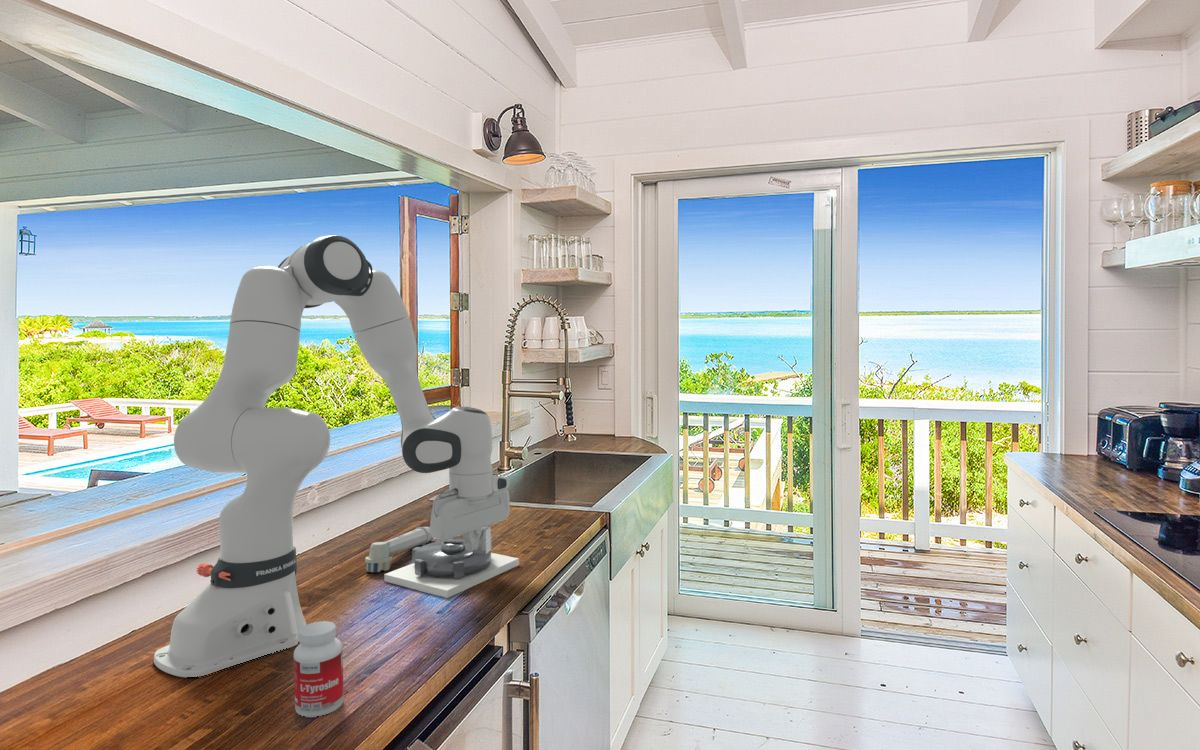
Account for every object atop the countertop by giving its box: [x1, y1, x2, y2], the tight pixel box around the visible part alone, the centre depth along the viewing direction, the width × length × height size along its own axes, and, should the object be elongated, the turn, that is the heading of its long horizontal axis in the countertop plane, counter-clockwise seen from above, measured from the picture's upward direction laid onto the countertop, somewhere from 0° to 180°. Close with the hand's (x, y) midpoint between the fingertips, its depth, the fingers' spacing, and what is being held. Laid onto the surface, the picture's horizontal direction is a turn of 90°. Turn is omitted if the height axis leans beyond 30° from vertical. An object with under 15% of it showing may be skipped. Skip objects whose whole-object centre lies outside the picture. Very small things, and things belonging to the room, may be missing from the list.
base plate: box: [383, 552, 520, 599], centre depth 144 cm, size 22×18×2 cm
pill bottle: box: [293, 620, 345, 718], centre depth 92 cm, size 6×6×11 cm
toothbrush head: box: [364, 526, 434, 573], centre depth 156 cm, size 5×7×25 cm
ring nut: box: [411, 526, 492, 578], centre depth 144 cm, size 17×17×8 cm
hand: (471, 550), depth 139 cm, fingers closed
